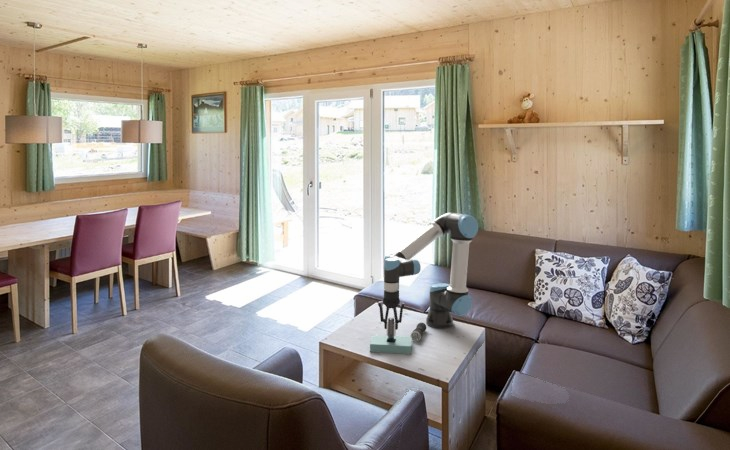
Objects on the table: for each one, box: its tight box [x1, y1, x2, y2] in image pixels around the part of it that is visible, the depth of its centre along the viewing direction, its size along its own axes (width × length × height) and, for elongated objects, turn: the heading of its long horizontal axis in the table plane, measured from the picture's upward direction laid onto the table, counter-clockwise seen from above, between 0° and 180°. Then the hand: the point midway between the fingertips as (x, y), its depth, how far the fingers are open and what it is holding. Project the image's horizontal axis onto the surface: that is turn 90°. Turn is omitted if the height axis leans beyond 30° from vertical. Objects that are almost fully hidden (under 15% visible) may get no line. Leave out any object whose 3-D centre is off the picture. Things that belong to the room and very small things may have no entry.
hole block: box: [369, 334, 413, 355], centre depth 222 cm, size 20×11×4 cm, turn 82°
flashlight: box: [410, 322, 427, 342], centre depth 237 cm, size 15×5×5 cm, turn 160°
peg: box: [387, 317, 395, 343], centre depth 221 cm, size 3×3×14 cm
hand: (391, 335), depth 221 cm, fingers closed on peg, 3 cm apart
